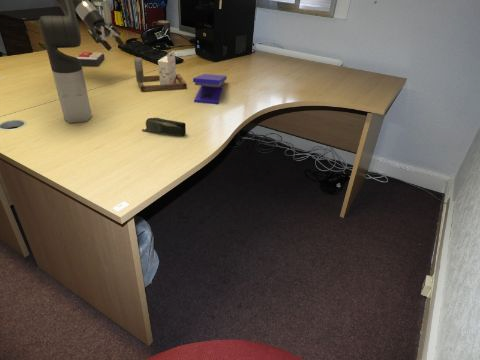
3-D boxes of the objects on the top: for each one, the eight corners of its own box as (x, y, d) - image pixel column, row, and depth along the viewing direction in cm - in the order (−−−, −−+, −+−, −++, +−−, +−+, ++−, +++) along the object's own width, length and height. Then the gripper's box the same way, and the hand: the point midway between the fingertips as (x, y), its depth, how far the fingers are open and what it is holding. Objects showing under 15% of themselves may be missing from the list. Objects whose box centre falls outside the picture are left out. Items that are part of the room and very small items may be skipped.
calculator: (104, 52, 179) (96, 58, 167) (105, 60, 182) (98, 67, 169) (82, 51, 178) (73, 57, 165) (84, 59, 180) (75, 66, 168)
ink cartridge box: (166, 81, 158) (164, 48, 149) (176, 82, 157) (175, 50, 149) (159, 87, 151) (156, 53, 142) (169, 88, 150) (167, 54, 142)
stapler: (192, 102, 139) (192, 79, 133) (203, 81, 162) (202, 60, 156) (220, 105, 139) (220, 81, 133) (226, 83, 162) (227, 62, 156)
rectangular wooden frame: (186, 88, 151) (185, 61, 144) (139, 91, 144) (136, 63, 137) (179, 78, 161) (178, 52, 154) (135, 80, 154) (132, 54, 148)
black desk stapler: (186, 121, 113) (143, 115, 113) (184, 124, 110) (139, 118, 111) (186, 134, 116) (144, 128, 116) (184, 138, 113) (141, 132, 114)
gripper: (81, 11, 134) (110, 45, 137) (105, 7, 145) (131, 38, 149) (74, 23, 138) (101, 56, 142) (97, 19, 149) (122, 49, 153)
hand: (116, 47), depth 145 cm, fingers open, 8 cm apart
